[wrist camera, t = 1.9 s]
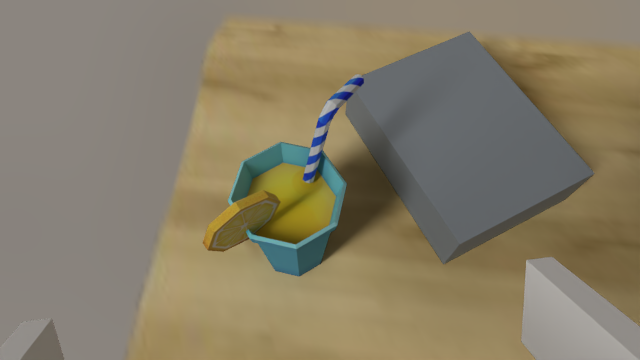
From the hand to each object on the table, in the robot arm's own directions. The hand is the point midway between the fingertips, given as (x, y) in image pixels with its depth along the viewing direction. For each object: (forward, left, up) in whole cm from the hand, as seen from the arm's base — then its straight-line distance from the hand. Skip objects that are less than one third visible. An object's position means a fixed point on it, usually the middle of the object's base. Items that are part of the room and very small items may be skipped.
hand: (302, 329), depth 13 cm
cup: (-4, -11, -24) cm, 27 cm away
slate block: (-20, -12, -24) cm, 34 cm away
